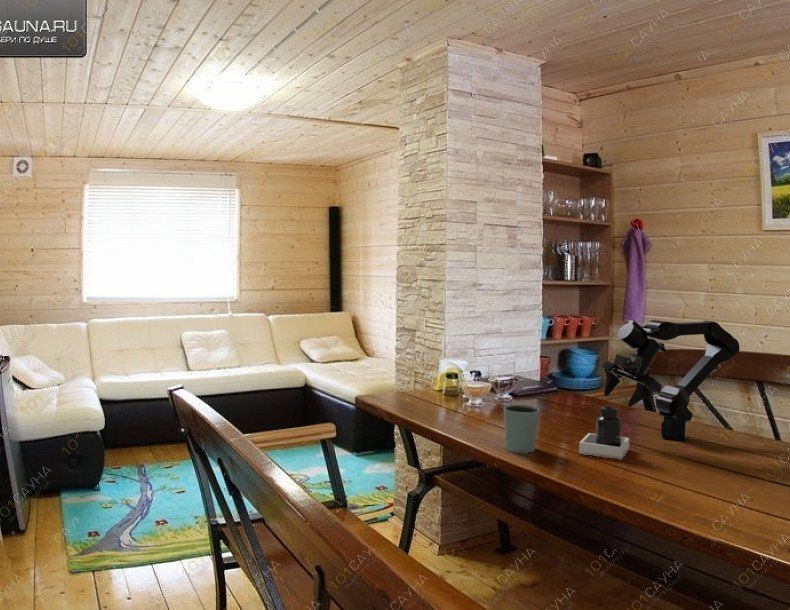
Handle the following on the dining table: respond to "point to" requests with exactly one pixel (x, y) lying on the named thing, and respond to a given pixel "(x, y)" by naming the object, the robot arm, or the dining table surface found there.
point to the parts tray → (602, 447)
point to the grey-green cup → (520, 428)
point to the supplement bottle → (608, 427)
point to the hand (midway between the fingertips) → (616, 400)
